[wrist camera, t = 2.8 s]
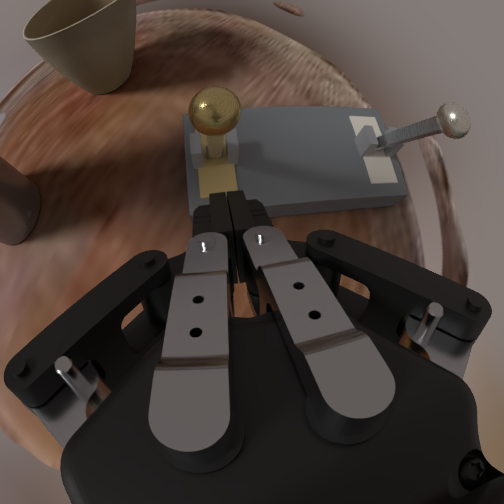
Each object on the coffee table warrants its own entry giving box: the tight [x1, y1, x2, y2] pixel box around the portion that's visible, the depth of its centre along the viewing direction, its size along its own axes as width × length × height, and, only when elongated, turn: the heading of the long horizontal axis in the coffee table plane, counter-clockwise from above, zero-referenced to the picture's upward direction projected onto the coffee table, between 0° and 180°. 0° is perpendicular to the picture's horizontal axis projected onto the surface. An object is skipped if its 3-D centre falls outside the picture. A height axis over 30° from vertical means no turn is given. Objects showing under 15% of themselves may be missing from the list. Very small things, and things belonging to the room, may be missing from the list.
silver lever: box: [375, 102, 471, 150], centre depth 23 cm, size 3×3×15 cm
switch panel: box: [183, 106, 409, 223], centre depth 30 cm, size 24×12×7 cm, turn 98°
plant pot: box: [22, 0, 136, 95], centre depth 27 cm, size 15×15×16 cm
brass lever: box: [188, 86, 242, 159], centre depth 21 cm, size 3×3×15 cm
